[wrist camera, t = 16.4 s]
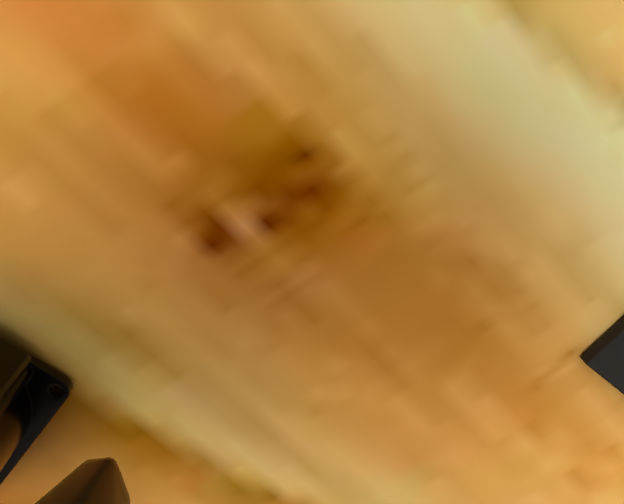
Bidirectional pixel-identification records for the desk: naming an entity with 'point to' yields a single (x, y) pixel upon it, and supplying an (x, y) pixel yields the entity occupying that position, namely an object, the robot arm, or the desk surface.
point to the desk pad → (609, 355)
